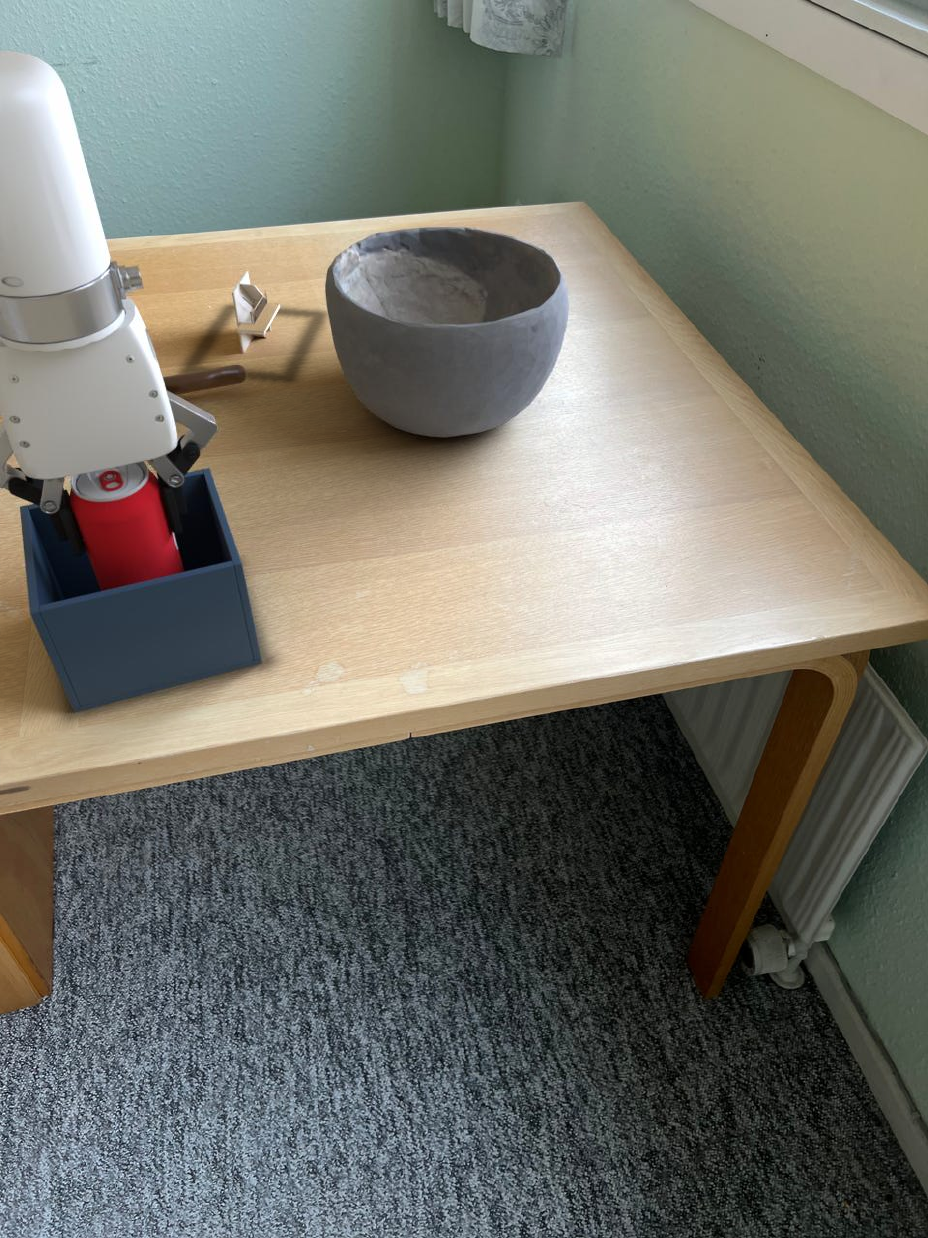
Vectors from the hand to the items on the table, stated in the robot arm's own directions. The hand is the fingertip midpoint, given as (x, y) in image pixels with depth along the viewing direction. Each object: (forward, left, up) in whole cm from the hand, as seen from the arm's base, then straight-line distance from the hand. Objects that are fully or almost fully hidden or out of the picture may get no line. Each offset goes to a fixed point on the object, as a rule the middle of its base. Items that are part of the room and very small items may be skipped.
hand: (127, 531), depth 67 cm
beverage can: (0, 0, -7) cm, 7 cm away
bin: (0, 0, -11) cm, 11 cm away
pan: (+5, +34, -11) cm, 36 cm away
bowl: (+34, +24, -11) cm, 43 cm away
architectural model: (+18, +44, -11) cm, 49 cm away
